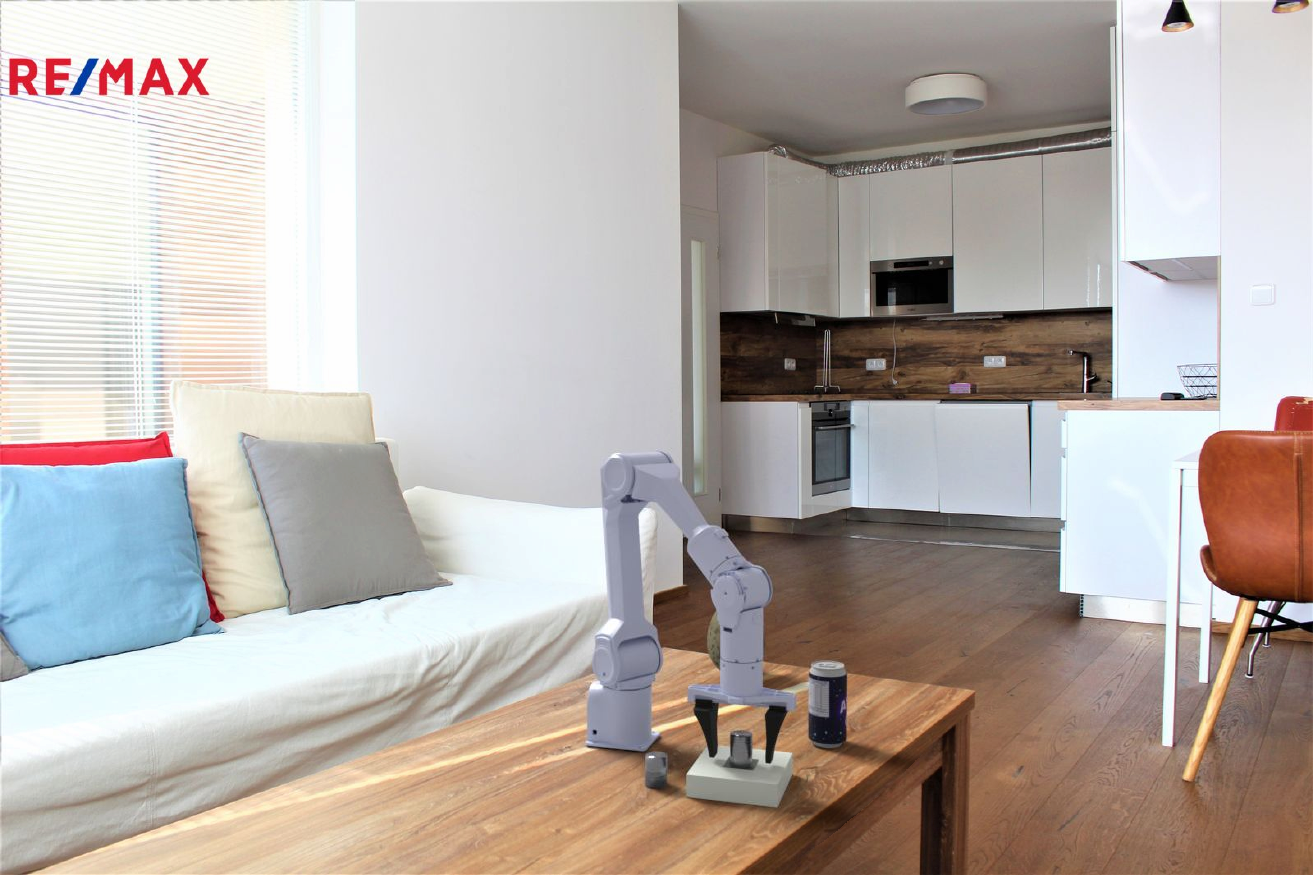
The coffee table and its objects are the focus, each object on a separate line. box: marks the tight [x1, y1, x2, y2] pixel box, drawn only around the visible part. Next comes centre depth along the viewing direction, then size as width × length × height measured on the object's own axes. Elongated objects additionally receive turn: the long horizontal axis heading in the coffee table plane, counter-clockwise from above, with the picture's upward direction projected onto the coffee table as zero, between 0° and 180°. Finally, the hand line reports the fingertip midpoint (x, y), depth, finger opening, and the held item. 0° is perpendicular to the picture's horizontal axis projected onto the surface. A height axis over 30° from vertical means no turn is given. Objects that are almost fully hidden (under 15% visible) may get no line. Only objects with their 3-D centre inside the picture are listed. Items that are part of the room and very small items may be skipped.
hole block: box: [685, 744, 794, 808], centre depth 139 cm, size 12×12×3 cm
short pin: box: [644, 751, 668, 790], centre depth 139 cm, size 3×3×4 cm
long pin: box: [729, 729, 753, 770], centre depth 139 cm, size 3×3×7 cm
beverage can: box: [807, 660, 848, 749], centre depth 155 cm, size 6×6×12 cm
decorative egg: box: [706, 610, 766, 671], centre depth 192 cm, size 11×11×15 cm
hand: (741, 758), depth 139 cm, fingers open, 7 cm apart
